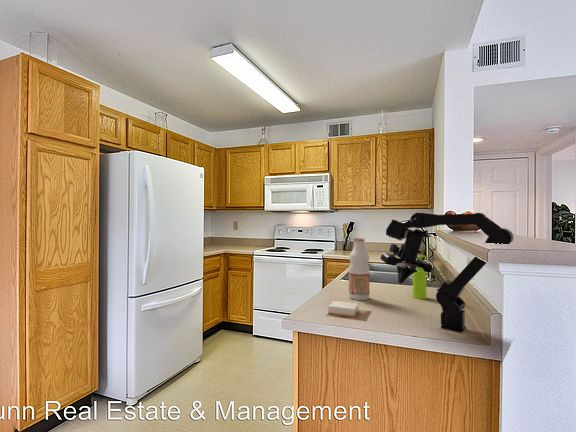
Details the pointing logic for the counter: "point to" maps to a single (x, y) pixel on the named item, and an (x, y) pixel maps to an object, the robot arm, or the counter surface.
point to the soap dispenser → (419, 282)
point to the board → (361, 315)
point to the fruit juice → (359, 271)
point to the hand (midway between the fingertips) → (399, 283)
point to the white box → (343, 308)
